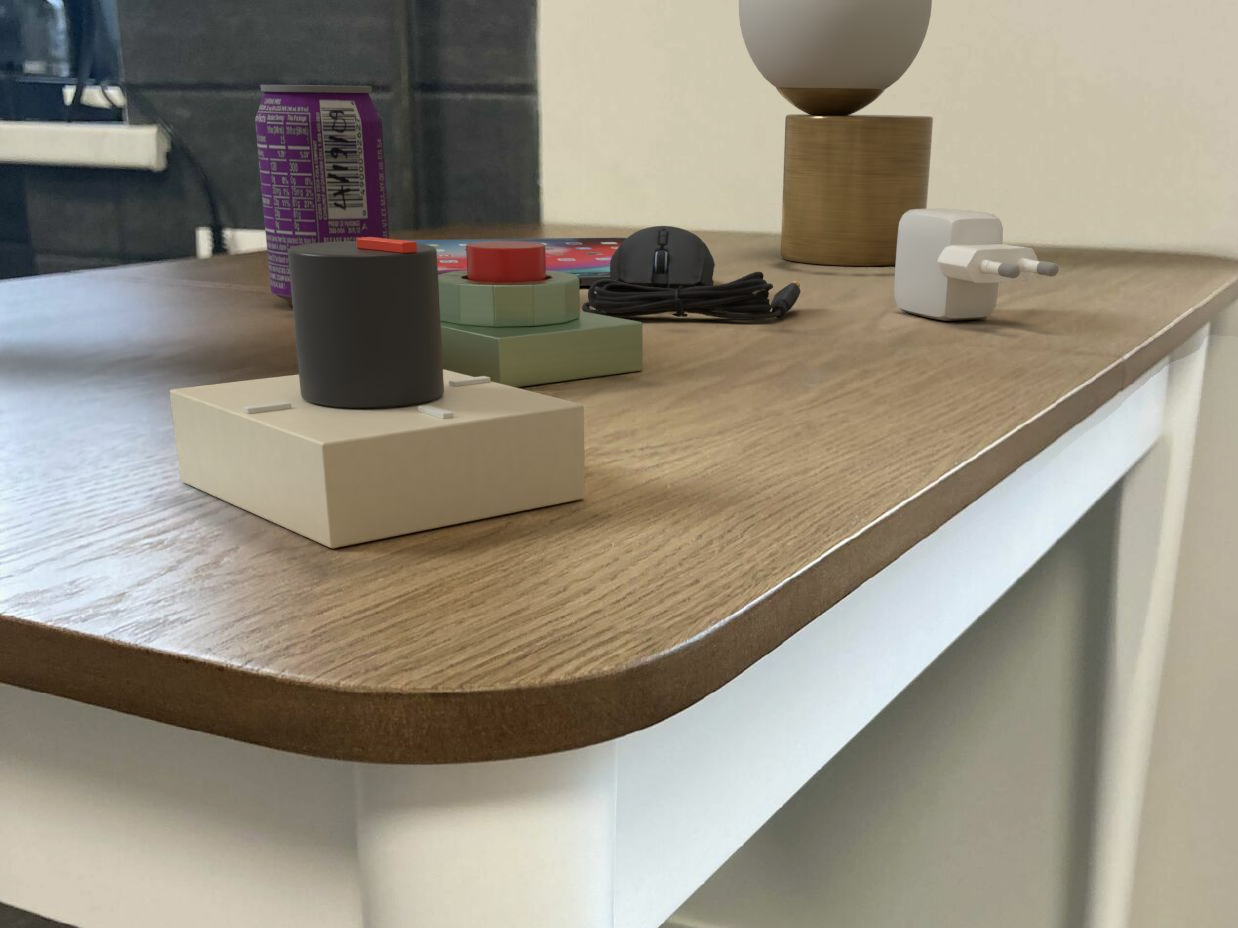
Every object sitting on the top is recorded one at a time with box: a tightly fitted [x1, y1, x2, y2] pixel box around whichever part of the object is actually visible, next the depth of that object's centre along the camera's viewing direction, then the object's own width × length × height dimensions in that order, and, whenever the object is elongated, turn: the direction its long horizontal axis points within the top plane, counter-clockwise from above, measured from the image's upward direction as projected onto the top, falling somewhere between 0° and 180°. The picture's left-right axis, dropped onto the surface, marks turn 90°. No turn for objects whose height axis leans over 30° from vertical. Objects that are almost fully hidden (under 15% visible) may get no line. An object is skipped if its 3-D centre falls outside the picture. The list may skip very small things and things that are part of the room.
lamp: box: [738, 0, 934, 267], centre depth 111 cm, size 15×14×25 cm
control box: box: [169, 369, 586, 549], centre depth 47 cm, size 10×9×3 cm
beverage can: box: [254, 84, 390, 306], centre depth 86 cm, size 7×7×12 cm
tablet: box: [404, 237, 628, 287], centre depth 108 cm, size 19×25×1 cm
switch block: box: [438, 270, 643, 388], centre depth 69 cm, size 10×8×4 cm
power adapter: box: [893, 207, 1060, 322], centre depth 83 cm, size 11×5×6 cm, turn 25°
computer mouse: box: [581, 225, 801, 320], centre depth 89 cm, size 12×17×4 cm
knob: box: [288, 237, 444, 408], centre depth 45 cm, size 4×4×5 cm
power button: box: [466, 241, 546, 282], centre depth 68 cm, size 4×4×2 cm
